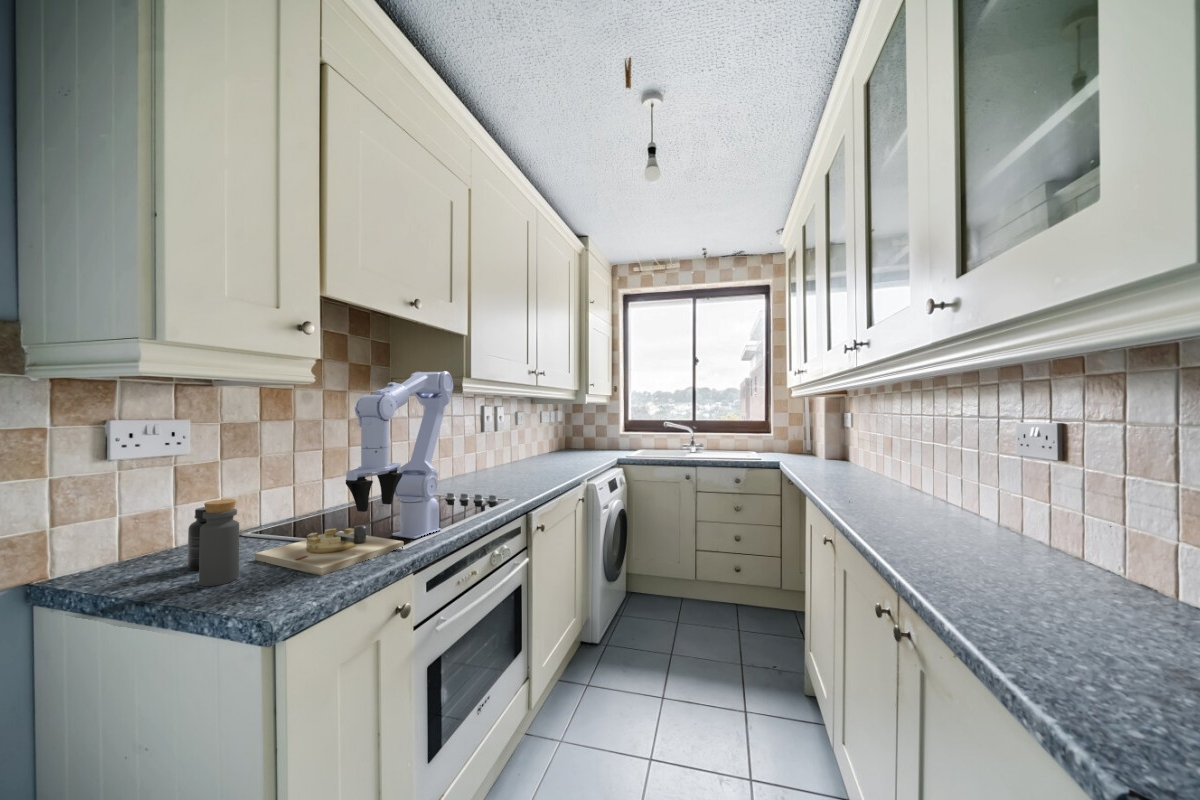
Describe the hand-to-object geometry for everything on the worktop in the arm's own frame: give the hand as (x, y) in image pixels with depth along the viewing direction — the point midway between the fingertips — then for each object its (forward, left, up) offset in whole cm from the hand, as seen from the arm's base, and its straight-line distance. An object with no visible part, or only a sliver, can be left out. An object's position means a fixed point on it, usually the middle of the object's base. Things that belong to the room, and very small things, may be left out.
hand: (375, 507), depth 106 cm
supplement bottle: (+20, -24, -11) cm, 33 cm away
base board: (+4, -8, -10) cm, 14 cm away
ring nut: (+4, -6, -9) cm, 11 cm away
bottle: (+24, -12, -10) cm, 29 cm away
